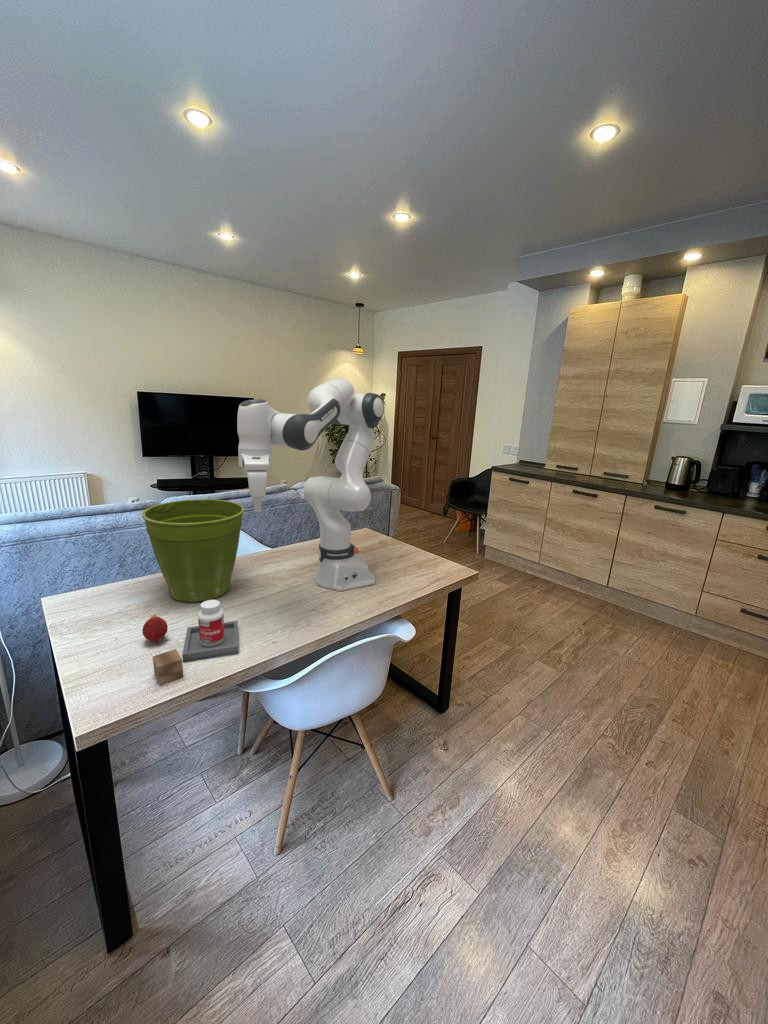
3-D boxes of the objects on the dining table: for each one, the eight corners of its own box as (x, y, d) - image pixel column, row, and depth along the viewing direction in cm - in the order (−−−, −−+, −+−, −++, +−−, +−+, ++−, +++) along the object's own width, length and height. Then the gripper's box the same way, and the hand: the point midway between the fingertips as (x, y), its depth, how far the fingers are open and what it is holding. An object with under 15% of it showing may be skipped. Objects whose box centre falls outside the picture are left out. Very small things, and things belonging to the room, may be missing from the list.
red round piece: (172, 641, 106) (169, 615, 104) (148, 650, 102) (145, 622, 100) (163, 633, 109) (161, 607, 107) (140, 641, 105) (137, 614, 103)
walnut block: (177, 666, 96) (175, 648, 95) (183, 677, 93) (181, 659, 91) (154, 674, 93) (152, 656, 92) (159, 686, 89) (157, 667, 88)
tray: (237, 627, 114) (237, 620, 114) (238, 653, 102) (238, 646, 102) (188, 634, 110) (187, 627, 109) (182, 662, 98) (182, 654, 97)
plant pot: (161, 576, 144) (154, 499, 137) (247, 570, 153) (244, 498, 146) (139, 617, 117) (129, 524, 109) (245, 607, 126) (242, 520, 118)
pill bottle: (197, 648, 102) (194, 610, 99) (202, 635, 108) (200, 598, 105) (222, 646, 104) (220, 608, 101) (226, 633, 109) (224, 597, 107)
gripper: (242, 454, 118) (244, 499, 122) (244, 464, 100) (246, 517, 103) (264, 455, 121) (265, 498, 124) (270, 464, 102) (271, 516, 106)
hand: (256, 507), depth 114 cm, fingers open, 8 cm apart
